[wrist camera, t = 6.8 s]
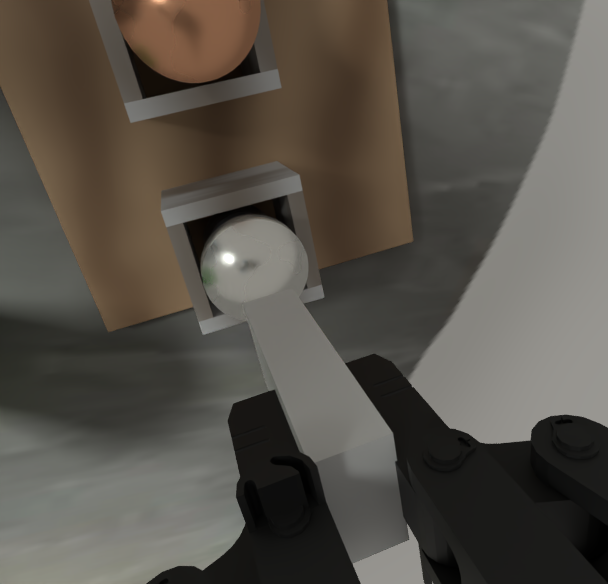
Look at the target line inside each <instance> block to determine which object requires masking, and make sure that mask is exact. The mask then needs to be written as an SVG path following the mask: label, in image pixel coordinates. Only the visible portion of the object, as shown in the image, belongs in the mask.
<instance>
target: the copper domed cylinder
mask: <svg viewBox="0 0 608 584" xmlns="http://www.w3.org/2000/svg"><path fill="white" fill-rule="evenodd" d="M111 2H112V8H113V11H114V15H115V19H116V21H117V24H118V26H119V29H120V31H121V33H122V34H123V36H124V38H125V40H126V41H127V43H128V44H129V46H130V47H131V49H132V50H133V51H134V52H135V54H136V55H137V56H138V57H139V58H140V59H141V60H142V61H143V62H144V63H145V64H146V65H147V66H149V67H150V68H151V69H153V70H154V71H155V72H157V73H159V74H161V75H163V76H165V77H167V78H169V79H172V80H175V81H179V82H185V83H202V82H208V81H211V80H215V79H218V78H220V77H222V76H224V75H226V74H228V73H229V72H231V71H232V70H234V69H235V68H236V67H237V66H238V65H239V64H240V63H241V62H242V61H243V60H244V59H245V57H246V56H247V54H248V53H249V51H250V50H251V48H252V46H253V44H254V41H255V39H256V36H257V33H258V29H259V23H260V14H261V5H260V0H111Z"/></svg>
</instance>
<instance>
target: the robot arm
mask: <svg viewBox="0 0 608 584" xmlns="http://www.w3.org/2000/svg"><path fill="white" fill-rule="evenodd" d="M243 307H244V310H245V314H246V317H247V321H248V324H249V328H250V331H251V335H252V338H253V341H254V345H255V348H256V352H257V355H258V359H259V362H260V366H261V369H262V373H263V376H264V380H265V382H266V385H267V388H268V390H269V391H268V392H266V393H263V394H260V395H257V396H254V397H251V398H248V399H245V400H242V401H239V402H237V403H234V404H233V406H232V409H231V412H230V415H229V418H228V424H229V428H230V433H231V437H232V442H233V446H234V451H235V455H236V460H237V464H238V469H239V473H240V479H239V481H238V483H237V491H236V498H237V501H238V504H239V506H240V509H241V512H242V514H243V517H244V520H245V522H246V523H245V527H244V529H243V531H242V533H241V535H240V537H239V538H238V540H237V541H236V542H235V544H234V545H233V546H232V547H231V548H230V549H229V550H228V551H227V552H226V553H225V554H224V555H223V556H221V557H220V558H219V559H217V560H216V561H215V562H213V563H212V564H211V565H209V566H208V567H207V568H206V569H204V570H203V571H202V570H200V569H198V568H196V567H195V566H177V567H175V568H172V569H169V570H166V571H164V572H162V573H160V574H159V575H157V576H156V577H155V578H153V579H152V580H151V581H149V582H148V583H147V584H360V581H359V579H358V576H357V574H356V572H355V569H354V567H353V563H355V562H357V561H360V560H362V559H364V558H367V557H369V556H371V555H374V554H376V553H378V552H381V551H383V550H386V549H388V548H390V547H393V546H395V545H398V544H400V543H402V542H405V541H407V540H409V535H408V529H407V524H408V525H409V527H410V529H411V530H412V532H413V534H414V536H415V537H416V539H417V541H418V543H419V550H420V558H421V565H422V572H423V579H424V583H425V584H432V582H433V583H434V584H608V428H607V427H605V426H603V425H601V424H600V423H597V422H594V421H592V420H589V419H587V418H584V417H579V416H572V415H559V416H550V417H548V418H546V419H544V420H541V421H539V422H538V423H537V424H536V425H535V427H534V428H533V429H532V433H531V441H522V442H511V443H501V444H485V443H480V442H478V441H477V440H476V439H474V438H473V437H472V436H470V435H469V434H467V433H464V432H462V431H459V430H456V429H450V428H449V427H448V426H447V425H446V424H445V423H444V422H443V421H442V420H441V418H440V417H439V416H438V415H437V414H436V413H435V411H434V410H433V409H432V408H431V407H430V406H429V405H428V403H427V402H426V401H425V400H424V399H423V398H422V397H421V396H420V394H419V393H418V392H417V391H416V390H415V388H414V387H413V388H412V385H411V384H410V383H409V381H408V380H407V379H406V378H405V377H403V375H402V373H401V372H400V371H399V370H398V369H397V368H396V366H395V365H394V364H393V363H392V362H391V361H389V360H387V359H385V358H382V357H380V356H378V355H376V354H372V355H369V356H366V357H363V358H360V359H357V360H354V361H351V362H348V363H344V362H343V360H342V359H341V357H340V356H339V354H338V353H337V352H336V350H335V349H334V347H333V346H332V344H331V343H330V341H329V340H328V339H327V337H326V336H325V334H324V333H323V331H322V330H321V328H320V327H319V326H318V324H317V323H316V321H315V320H314V318H313V317H312V315H311V314H310V313H309V311H308V310H307V308H306V307H305V305H304V304H303V302H302V301H301V300H300V298H299V297H298V295H297V294H296V292H295V291H294V289H293V288H291V289H288V290H285V291H281V292H278V293H275V294H272V295H268V296H265V297H262V298H259V299H255V300H252V301H249V302H246V303H243Z"/></svg>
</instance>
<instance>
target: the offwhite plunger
mask: <svg viewBox="0 0 608 584" xmlns="http://www.w3.org/2000/svg"><path fill="white" fill-rule="evenodd" d="M203 243H204V249H203V252H202V256H201V264H200V267H201V275H202V280H203V284H204V288H205V291H206V293H207V295H208V297H209V299H210V300H211V301H212V303H213V304H214V305H215V306H216V307H217V308H218V309H219V310H220V311H222V312H223V313H225V314H226V315H228V316H230V317H233V318H235V319H239V320H244V321H247V317H246V314H245V310H244V307H243V303H246V302H249V301H252V300H255V299H259V298H262V297H265V296H268V295H272V294H275V293H278V292H281V291H285V290H288V289H291V288H293V289H294V291H295V292H296V294H297V295H298V297H299V296H300V295H301V293H302V291H303V289H304V287H305V285H306V281H307V278H308V258H307V254H306V251H305V249H304V246H303V245H302V243H301V241H300V240H299V239H298V237H297V236H296V235H295V234H294V233H293V232H292V231H291V230H290V229H289V228H288V227H287V226H286V225H285V224H284V223H282V222H281V221H279V220H277V219H275V218H273V217H270V216H266V214H265V213H264V212H262V211H261V210H260V209H258V208H256V207H254V206H251V205H247V206H243V207H240V208H236V209H232V210H229V211H225V212H221V213H217V214H214V215H213V216H212V217H211V218H210V219H209V221H208V223H207V225H206V227H205V230H204V235H203Z"/></svg>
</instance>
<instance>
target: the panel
mask: <svg viewBox="0 0 608 584" xmlns="http://www.w3.org/2000/svg"><path fill="white" fill-rule="evenodd" d="M260 5H261V14H260V23H259V29H258V33H257V36H256V39H255V41H254V44H253V46H252V48H251V50H250V51H249V53H248V54H247V56H246V57H245V59H244V60H243V61H242V62H241V63H240V64H239V65H238V66H237V67H236V68H235V69H234V70H232V71H231V72H229V73H228V74H226V75H224V76H222V77H220V78H218V79H215V80H211V81H208V82H202V83H185V82H179V81H175V80H172V79H169V78H167V77H165V76H163V75H161V74H159V73H157V72H155V71H154V70H153V69H151V68H150V67H149V66H147V65H146V64H145V63H144V62H143V61H142V60H141V59H140V58H139V57H138V56H137V55H136V54H135V52H134V51H133V50H132V49H131V47H130V46H129V44H128V43H127V41H126V40H125V38H124V36H123V34H122V33H121V31H120V29H119V26H118V24H117V21H116V19H115V15H114V11H113V8H112V2H111V0H0V87H1V89H2V91H3V93H4V96H5V98H6V100H7V102H8V105H9V107H10V109H11V112H12V114H13V116H14V118H15V121H16V123H17V125H18V128H19V130H20V132H21V134H22V137H23V139H24V141H25V144H26V146H27V148H28V150H29V153H30V155H31V157H32V159H33V162H34V164H35V166H36V169H37V171H38V173H39V175H40V178H41V180H42V182H43V185H44V187H45V189H46V191H47V194H48V196H49V198H50V200H51V203H52V205H53V207H54V210H55V212H56V214H57V216H58V219H59V221H60V223H61V226H62V228H63V230H64V232H65V235H66V237H67V239H68V242H69V244H70V246H71V248H72V251H73V253H74V255H75V257H76V260H77V262H78V264H79V267H80V269H81V271H82V273H83V276H84V278H85V280H86V283H87V285H88V287H89V289H90V292H91V294H92V296H93V298H94V301H95V303H96V305H97V308H98V310H99V312H100V314H101V317H102V319H103V321H104V324H105V326H106V328H107V330H108V332H111V331H114V330H117V329H121V328H124V327H128V326H131V325H134V324H138V323H141V322H144V321H148V320H151V319H154V318H158V317H161V316H165V315H168V314H171V313H175V312H178V311H181V310H185V309H188V308H191V307H194V310H195V313H196V316H197V319H198V322H199V325H200V328H201V331H202V334H203V335H204V334H208V333H211V332H214V331H217V330H221V329H224V328H227V327H230V326H234V325H237V324H240V323H243V322H247V321H244V320H239V319H235V318H233V317H230V316H228V315H226V314H225V313H223V312H222V311H220V310H219V309H218V308H217V307H216V306H215V305H214V304H213V303H212V301H211V300H210V299H209V297H208V295H207V293H206V291H205V288H204V284H203V280H202V275H201V267H200V264H201V256H202V252H203V249H204V243H203V235H204V230H205V227H206V225H207V223H208V221H209V219H210V218H211V217H212V216H213V215H214V214H217V213H221V212H225V211H229V210H232V209H236V208H240V207H243V206H247V205H251V206H254V207H256V208H258V209H260V210H261V211H262V212H264V213H265V214H266V216H270V217H273V218H275V219H277V220H279V221H281V222H282V223H284V224H285V225H286V226H287V227H288V228H289V229H290V230H291V231H292V232H293V233H294V234H295V235H296V236H297V237H298V239H299V240H300V241H301V243H302V245H303V246H304V249H305V251H306V254H307V258H308V278H307V281H306V285H305V287H304V289H303V291H302V293H301V295H300V296H299V298H300V300H301V301H302V302H303V304H305V303H308V302H312V301H315V300H318V299H321V298H325V297H324V292H323V288H322V283H321V278H320V273H319V269H322V268H326V267H329V266H333V265H336V264H339V263H343V262H346V261H349V260H353V259H356V258H359V257H363V256H366V255H369V254H373V253H376V252H380V251H383V250H386V249H390V248H393V247H396V246H400V245H403V244H406V243H410V242H413V233H412V224H411V215H410V206H409V197H408V187H407V178H406V169H405V160H404V151H403V142H402V132H401V123H400V114H399V105H398V96H397V86H396V77H395V68H394V59H393V50H392V41H391V31H390V22H389V13H388V4H387V0H260Z"/></svg>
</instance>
